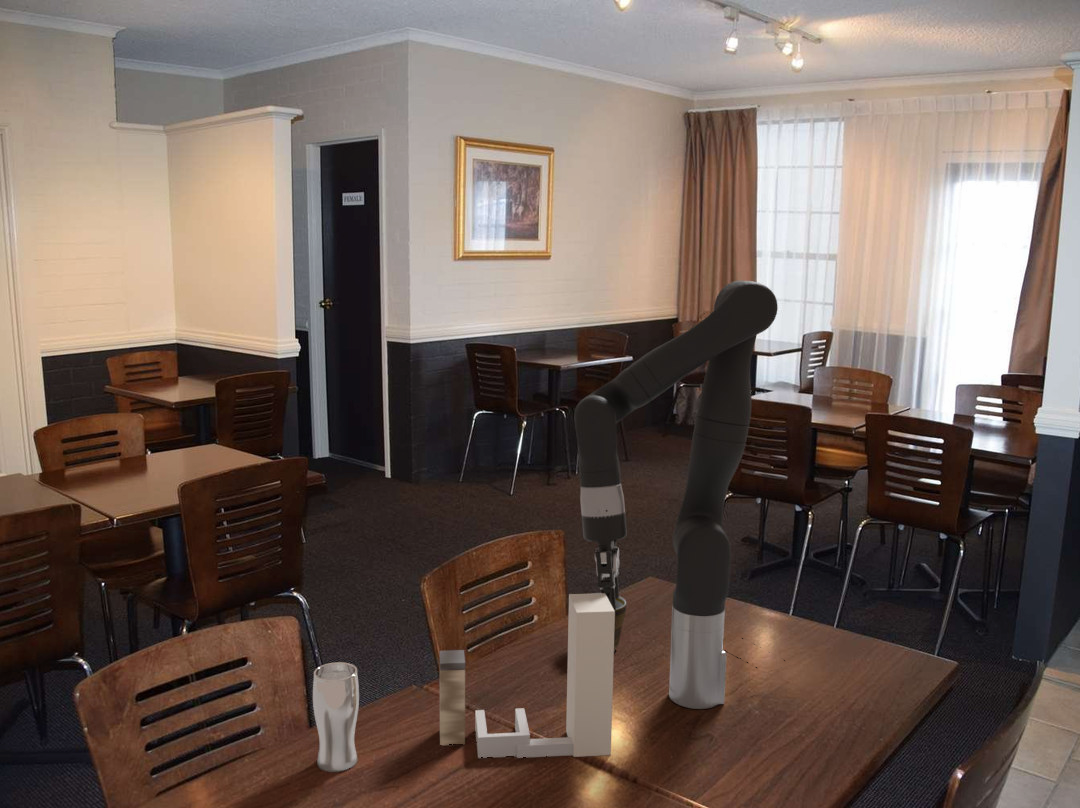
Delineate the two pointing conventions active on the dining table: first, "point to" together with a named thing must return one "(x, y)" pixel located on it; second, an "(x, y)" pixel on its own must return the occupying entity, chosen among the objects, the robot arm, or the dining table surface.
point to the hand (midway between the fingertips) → (611, 604)
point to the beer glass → (336, 714)
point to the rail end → (452, 697)
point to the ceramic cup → (618, 619)
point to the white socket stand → (571, 691)
